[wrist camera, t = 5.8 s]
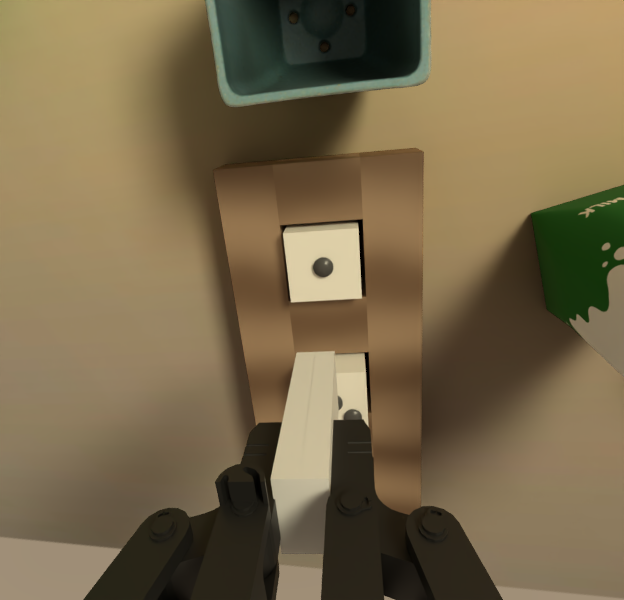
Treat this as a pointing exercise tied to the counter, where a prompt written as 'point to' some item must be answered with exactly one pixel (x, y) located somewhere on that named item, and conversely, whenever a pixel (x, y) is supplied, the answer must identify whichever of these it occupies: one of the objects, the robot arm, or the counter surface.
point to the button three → (351, 386)
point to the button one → (323, 260)
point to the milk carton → (586, 268)
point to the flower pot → (317, 47)
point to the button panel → (335, 313)
